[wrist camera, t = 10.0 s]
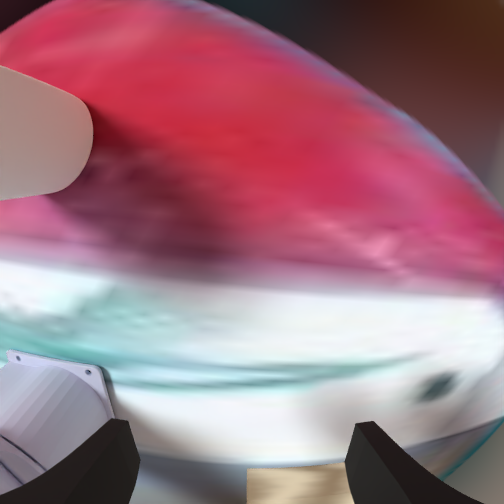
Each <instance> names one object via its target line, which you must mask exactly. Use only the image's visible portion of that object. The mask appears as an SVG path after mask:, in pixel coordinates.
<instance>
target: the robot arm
mask: <svg viewBox="0 0 504 504" xmlns="http://www.w3.org/2000/svg"><path fill="white" fill-rule="evenodd" d="M6 354H7V358H8V361H9V362H8V363H7V364H6V365H5V366H4V367H2V368H1V369H0V504H129V501H130V499H131V496H132V493H133V490H134V487H135V484H136V480H137V475H138V471H139V465H140V457H139V454H138V451H137V448H136V445H135V442H134V439H133V436H132V432H131V429H130V426H129V422H128V421H126V420H120V419H115V416H114V413H113V409H112V406H111V402H110V399H109V395H108V392H107V388H106V384H105V381H104V377H103V373H102V370H101V369H100V368H99V367H98V366H95V365H89V364H83V363H77V362H71V361H65V360H59V359H54V358H49V357H44V356H39V355H34V354H29V353H25V352H20V351H16V350H12V349H9V350H8V351H7V353H6ZM88 370H89V371H91V373H90V372H89V371H88ZM344 463H345V468H346V474H347V479H348V484H349V489H350V492H351V495H352V498H353V501H354V504H484V503H481V502H479V501H477V500H474V499H472V498H470V497H468V496H466V495H464V494H462V493H461V492H459V491H457V490H455V489H454V488H452V487H450V486H449V485H447V484H445V483H444V482H443V481H441V480H440V479H438V478H437V477H435V476H434V475H433V474H431V473H430V472H429V471H427V470H426V469H425V468H424V467H422V466H421V465H420V464H419V463H418V462H416V461H415V460H414V459H413V458H412V457H411V456H410V455H408V454H407V453H406V452H405V451H404V450H403V449H402V448H401V447H400V446H399V445H398V444H397V443H395V442H394V441H393V440H392V439H391V438H390V437H389V436H388V435H387V434H386V433H385V432H384V431H383V430H382V429H381V428H380V427H379V426H378V425H377V424H376V423H375V422H374V421H370V422H363V423H356V424H355V428H354V432H353V435H352V439H351V442H350V446H349V449H348V453H347V456H346V459H345V462H344Z"/></svg>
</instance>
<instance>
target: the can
mask: <svg viewBox="0 0 504 504" xmlns="http://www.w3.org/2000/svg"><path fill="white" fill-rule="evenodd" d="M92 142H93V124H92V119H91V115H90V113H89V110H88V108H87V106H86V105H85V103H84V102H83V101H82V100H80V99H79V98H77V97H76V96H74V95H72V94H70V93H68V92H65V91H63V90H61V89H58V88H56V87H54V86H51V85H49V84H47V83H44V82H42V81H39V80H37V79H34V78H32V77H29V76H27V75H24V74H22V73H19V72H17V71H14V70H11V69H9V68H6V67H3V66H1V65H0V200H7V199H14V198H21V197H28V196H35V195H42V194H49V193H54V192H58V191H60V190H62V189H64V188H66V187H67V186H69V185H70V184H71V183H72V182H73V181H74V180H75V179H76V178H77V177H78V176H79V175H80V173H81V172H82V170H83V168H84V167H85V165H86V163H87V160H88V158H89V155H90V152H91V148H92Z"/></svg>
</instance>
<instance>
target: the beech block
mask: <svg viewBox="0 0 504 504" xmlns="http://www.w3.org/2000/svg"><path fill="white" fill-rule="evenodd" d="M247 504H354V501H353V498H352V495H351V492H350V489H349V484H348V479H347V474H346V468H345V463H344V462H342V463H334V464H326V465H316V466H304V467H288V468H247Z"/></svg>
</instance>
